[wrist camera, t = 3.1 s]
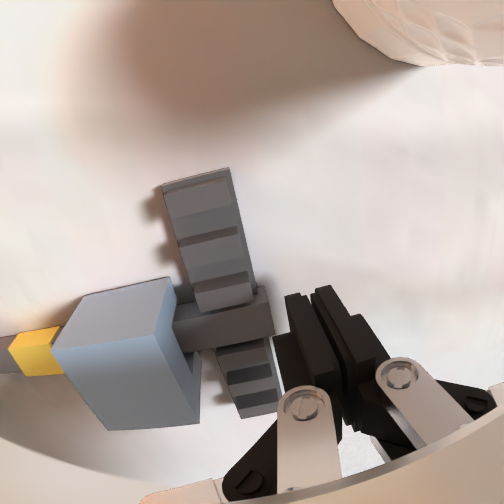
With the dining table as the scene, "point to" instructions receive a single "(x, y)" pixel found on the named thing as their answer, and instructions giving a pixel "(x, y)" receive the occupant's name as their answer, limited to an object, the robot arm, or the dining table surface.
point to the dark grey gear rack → (223, 279)
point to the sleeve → (131, 358)
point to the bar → (184, 327)
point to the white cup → (430, 29)
